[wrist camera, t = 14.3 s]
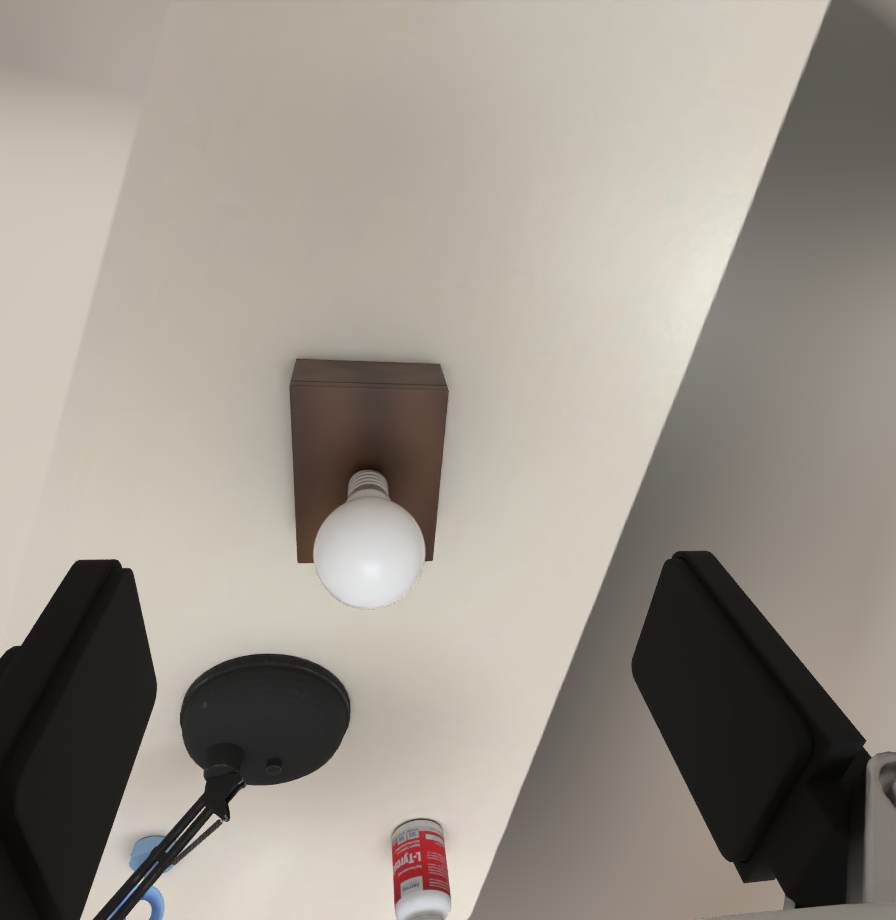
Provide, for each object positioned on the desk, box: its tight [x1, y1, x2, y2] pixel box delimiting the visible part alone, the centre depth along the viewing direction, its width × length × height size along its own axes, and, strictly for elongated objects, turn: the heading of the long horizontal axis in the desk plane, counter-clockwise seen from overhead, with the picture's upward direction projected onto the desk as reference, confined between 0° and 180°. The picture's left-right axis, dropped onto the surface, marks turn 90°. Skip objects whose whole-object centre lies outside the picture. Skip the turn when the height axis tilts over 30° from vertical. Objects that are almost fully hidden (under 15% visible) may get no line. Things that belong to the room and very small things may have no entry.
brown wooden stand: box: [290, 359, 449, 563], centre depth 43 cm, size 10×14×5 cm
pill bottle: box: [392, 820, 451, 920], centre depth 67 cm, size 6×6×11 cm
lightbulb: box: [313, 470, 425, 610], centre depth 36 cm, size 6×6×11 cm
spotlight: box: [108, 836, 176, 920], centre depth 62 cm, size 5×10×7 cm
